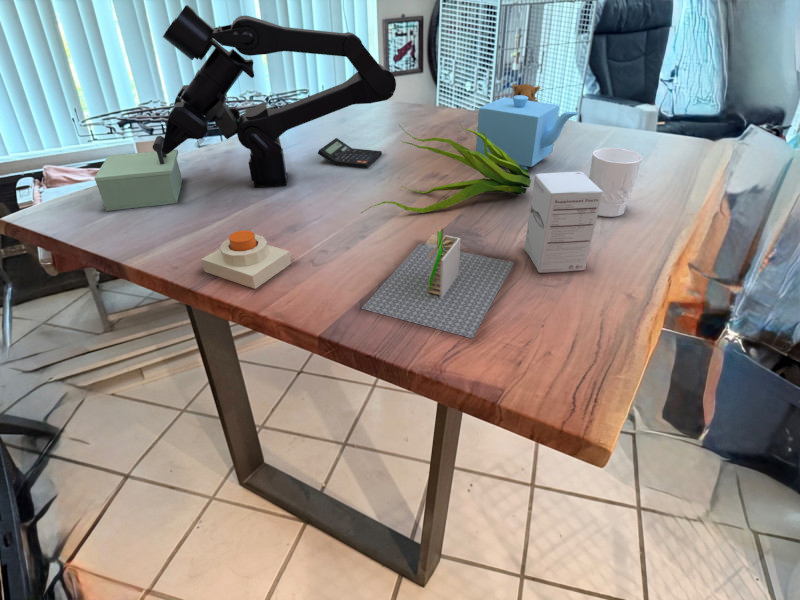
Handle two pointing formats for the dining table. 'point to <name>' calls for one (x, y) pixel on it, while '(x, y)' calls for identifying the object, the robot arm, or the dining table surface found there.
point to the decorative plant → (482, 164)
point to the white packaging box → (562, 221)
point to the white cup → (614, 178)
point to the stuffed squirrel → (526, 91)
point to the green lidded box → (141, 191)
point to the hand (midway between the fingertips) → (167, 145)
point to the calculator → (348, 155)
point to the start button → (242, 240)
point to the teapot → (521, 128)
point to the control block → (247, 263)
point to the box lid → (138, 164)
